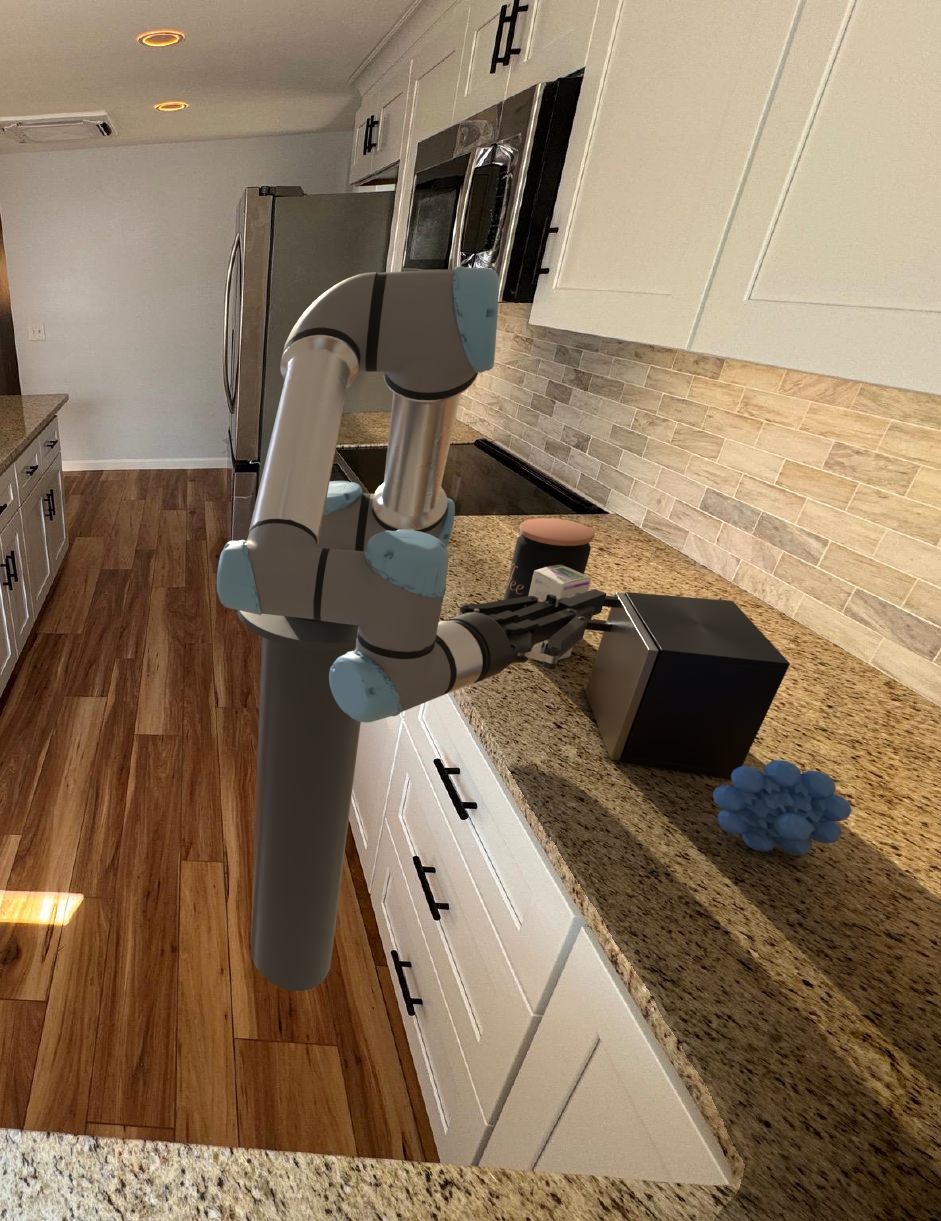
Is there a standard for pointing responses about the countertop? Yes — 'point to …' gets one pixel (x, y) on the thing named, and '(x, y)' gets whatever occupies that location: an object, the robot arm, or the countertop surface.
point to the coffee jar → (547, 551)
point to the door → (619, 671)
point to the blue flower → (781, 807)
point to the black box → (701, 685)
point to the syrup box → (558, 586)
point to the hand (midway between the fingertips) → (597, 600)
